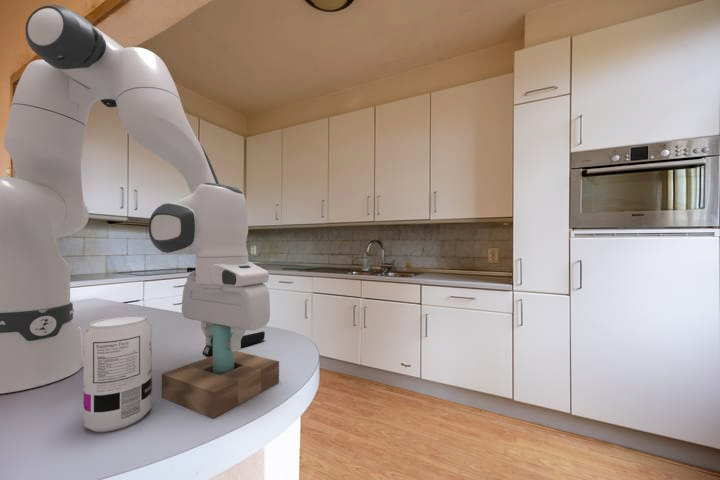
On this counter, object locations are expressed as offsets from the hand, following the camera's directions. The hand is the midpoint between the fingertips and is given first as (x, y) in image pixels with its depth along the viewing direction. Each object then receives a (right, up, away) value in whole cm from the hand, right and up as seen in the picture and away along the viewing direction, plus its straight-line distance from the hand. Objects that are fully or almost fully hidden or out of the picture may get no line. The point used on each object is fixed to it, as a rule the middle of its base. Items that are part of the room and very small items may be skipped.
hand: (222, 347), depth 57 cm
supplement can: (-12, -8, -9) cm, 17 cm away
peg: (0, -8, 0) cm, 8 cm away
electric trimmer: (-7, -8, +23) cm, 25 cm away
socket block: (0, -8, 0) cm, 8 cm away
